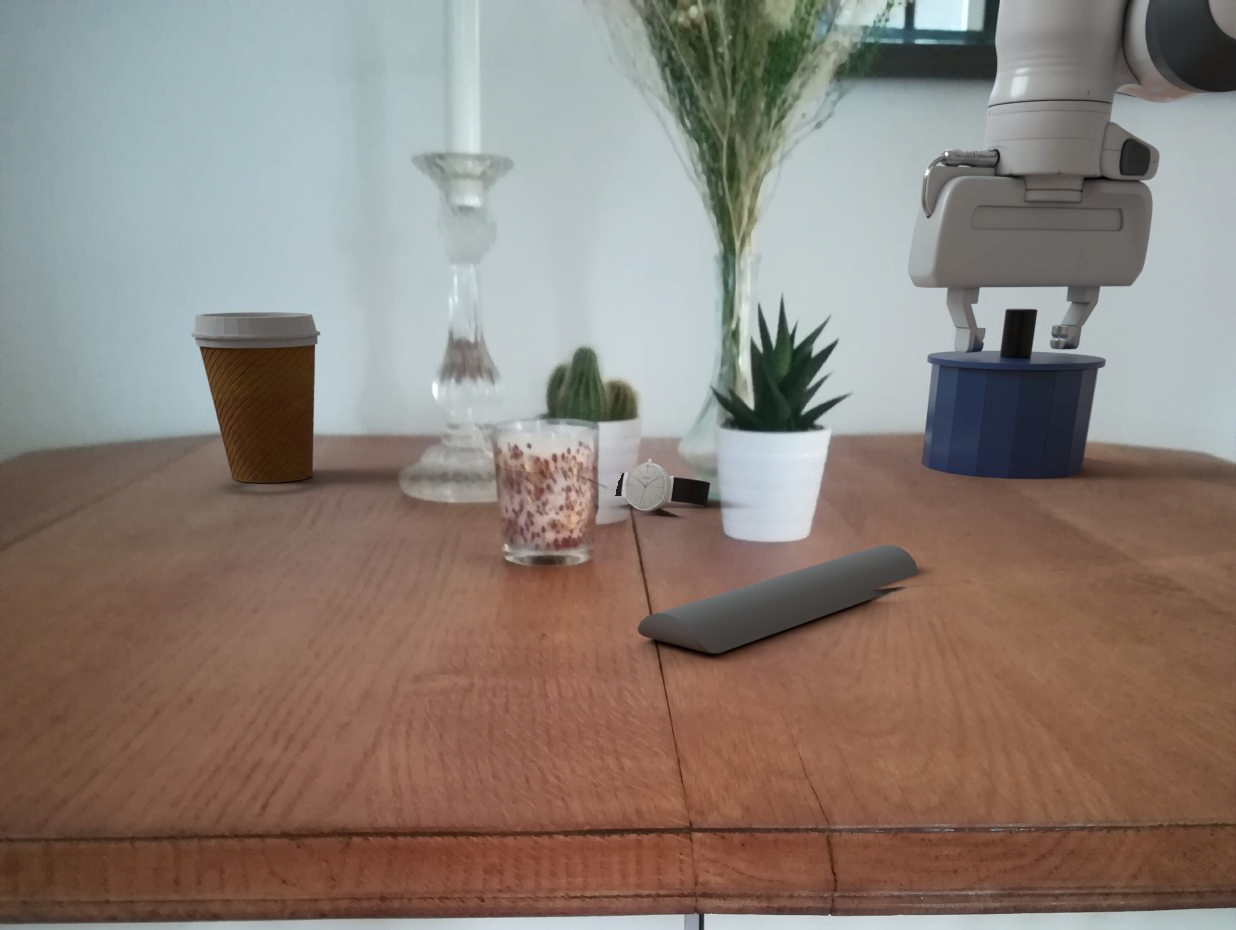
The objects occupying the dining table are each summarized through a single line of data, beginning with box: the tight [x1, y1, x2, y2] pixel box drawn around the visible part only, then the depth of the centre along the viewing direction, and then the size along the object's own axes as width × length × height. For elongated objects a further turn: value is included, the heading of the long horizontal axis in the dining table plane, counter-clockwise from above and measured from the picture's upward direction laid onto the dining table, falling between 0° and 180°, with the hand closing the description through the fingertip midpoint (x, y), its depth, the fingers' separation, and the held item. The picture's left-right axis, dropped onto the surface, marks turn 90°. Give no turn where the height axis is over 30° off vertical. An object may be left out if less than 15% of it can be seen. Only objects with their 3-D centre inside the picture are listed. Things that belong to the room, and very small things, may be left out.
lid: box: [926, 308, 1107, 371], centre depth 96 cm, size 14×14×5 cm
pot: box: [921, 364, 1100, 480], centre depth 99 cm, size 13×13×8 cm
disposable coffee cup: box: [190, 311, 321, 484], centre depth 95 cm, size 10×10×12 cm
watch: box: [615, 458, 711, 513], centre depth 85 cm, size 8×5×4 cm, turn 63°
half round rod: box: [637, 544, 919, 654], centre depth 61 cm, size 4×20×2 cm, turn 138°
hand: (1016, 350), depth 97 cm, fingers open, 8 cm apart
